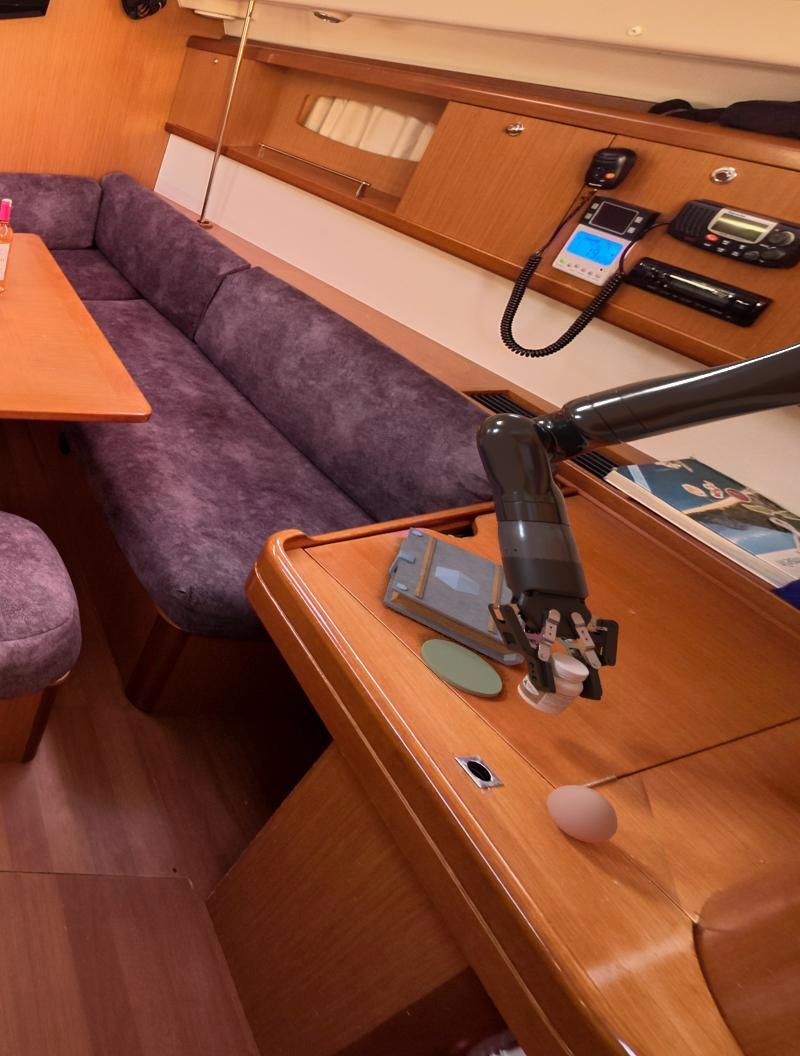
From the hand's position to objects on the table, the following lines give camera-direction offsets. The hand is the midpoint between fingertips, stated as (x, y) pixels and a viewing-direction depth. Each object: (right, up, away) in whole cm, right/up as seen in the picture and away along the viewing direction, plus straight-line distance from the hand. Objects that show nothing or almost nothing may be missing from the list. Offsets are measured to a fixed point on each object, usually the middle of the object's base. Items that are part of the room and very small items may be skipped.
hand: (567, 694), depth 80 cm
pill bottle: (0, -3, +4) cm, 5 cm away
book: (+9, +2, +25) cm, 26 cm away
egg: (-7, -13, -6) cm, 16 cm away
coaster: (-1, -4, +13) cm, 13 cm away
